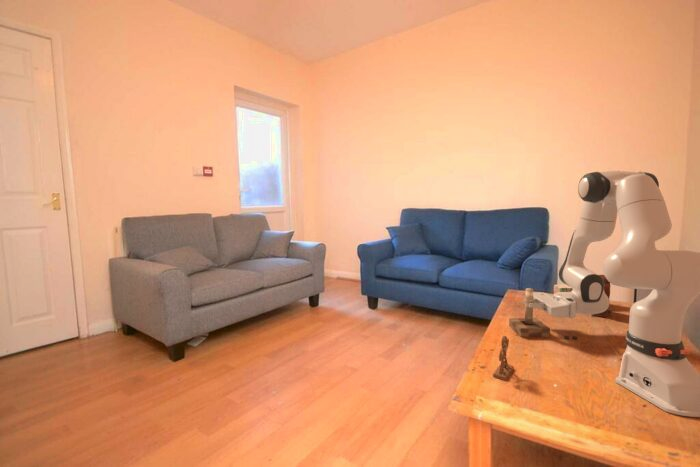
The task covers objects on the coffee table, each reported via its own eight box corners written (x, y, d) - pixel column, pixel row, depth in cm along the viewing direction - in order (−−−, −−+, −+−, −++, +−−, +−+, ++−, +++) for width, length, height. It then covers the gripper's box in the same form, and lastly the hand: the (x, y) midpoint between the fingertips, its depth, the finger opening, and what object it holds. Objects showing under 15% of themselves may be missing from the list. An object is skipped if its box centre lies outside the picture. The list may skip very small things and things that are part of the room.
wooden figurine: (591, 308, 159) (593, 271, 157) (608, 311, 155) (610, 273, 154) (591, 316, 150) (593, 277, 148) (609, 318, 146) (611, 278, 144)
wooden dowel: (533, 323, 134) (534, 290, 132) (526, 323, 134) (527, 290, 132) (530, 321, 137) (531, 288, 135) (523, 321, 137) (524, 288, 135)
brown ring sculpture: (505, 380, 100) (506, 342, 99) (492, 376, 103) (493, 339, 101) (513, 368, 107) (514, 333, 106) (501, 365, 109) (501, 330, 108)
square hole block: (549, 336, 130) (550, 328, 129) (520, 337, 130) (520, 328, 130) (535, 326, 140) (536, 318, 140) (509, 326, 141) (509, 318, 141)
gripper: (548, 288, 143) (515, 288, 144) (578, 303, 123) (539, 304, 124) (548, 302, 144) (515, 302, 145) (577, 320, 124) (539, 320, 125)
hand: (526, 303), depth 134 cm, fingers closed on wooden dowel, 3 cm apart
